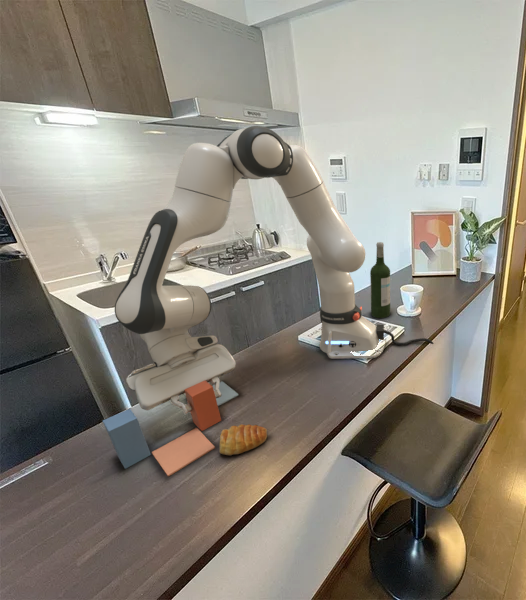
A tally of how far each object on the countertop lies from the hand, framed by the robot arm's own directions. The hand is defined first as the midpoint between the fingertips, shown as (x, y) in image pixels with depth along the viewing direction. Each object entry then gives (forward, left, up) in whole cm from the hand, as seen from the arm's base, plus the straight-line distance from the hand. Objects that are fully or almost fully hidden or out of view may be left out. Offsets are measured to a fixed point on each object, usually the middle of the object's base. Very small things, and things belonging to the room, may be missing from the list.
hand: (203, 404), depth 76 cm
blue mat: (+5, -9, -5) cm, 11 cm away
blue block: (+9, +11, -5) cm, 15 cm away
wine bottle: (-29, -66, -6) cm, 73 cm away
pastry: (-11, +4, -6) cm, 13 cm away
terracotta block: (+1, 0, -5) cm, 5 cm away
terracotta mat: (0, +8, -5) cm, 10 cm away
